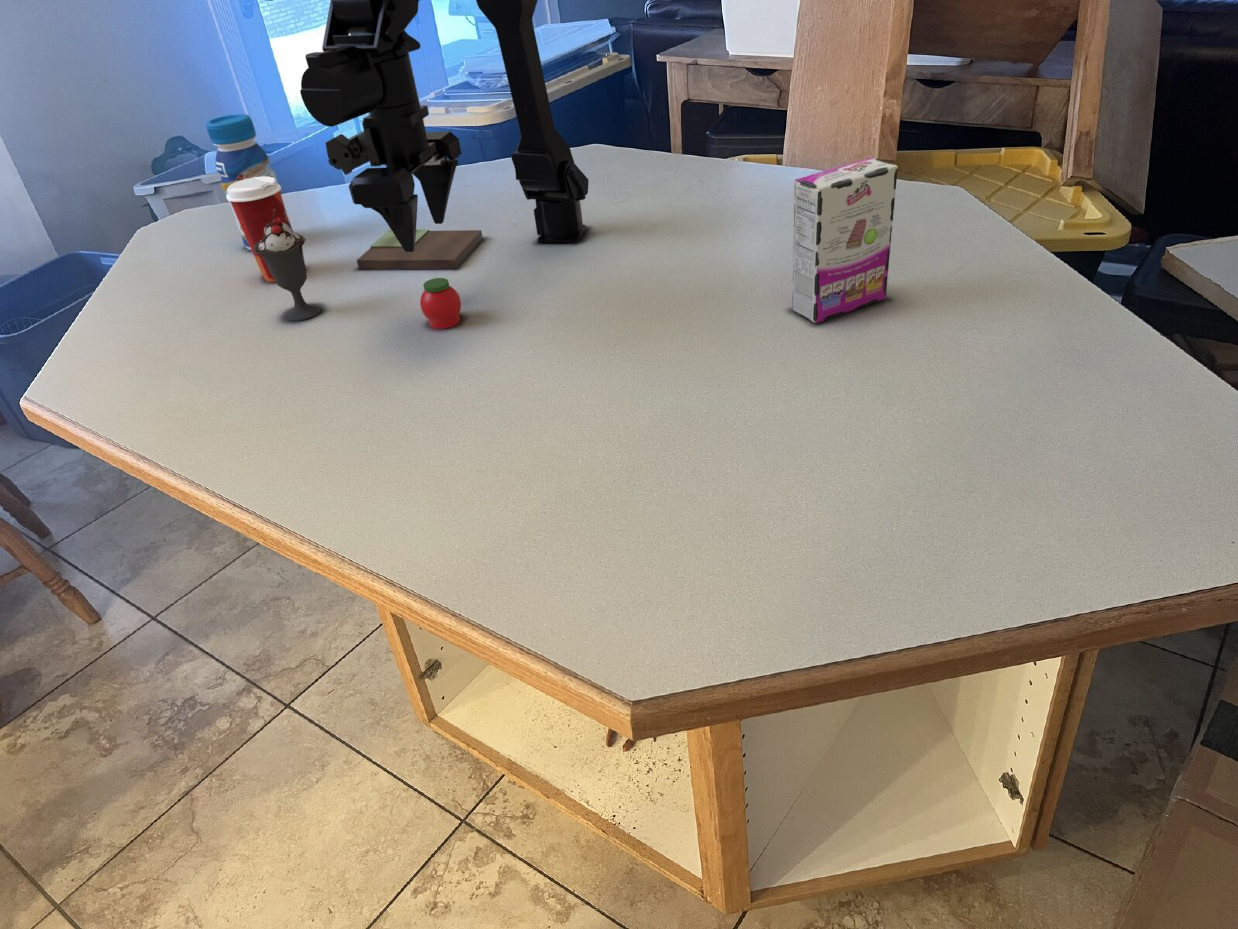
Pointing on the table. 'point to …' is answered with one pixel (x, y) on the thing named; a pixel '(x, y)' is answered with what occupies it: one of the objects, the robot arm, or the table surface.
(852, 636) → the table surface
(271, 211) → the paper cup
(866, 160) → the candy bar box
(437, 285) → the red rounded piece
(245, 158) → the beverage bottle
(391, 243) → the board
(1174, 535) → the table surface
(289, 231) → the sundae
